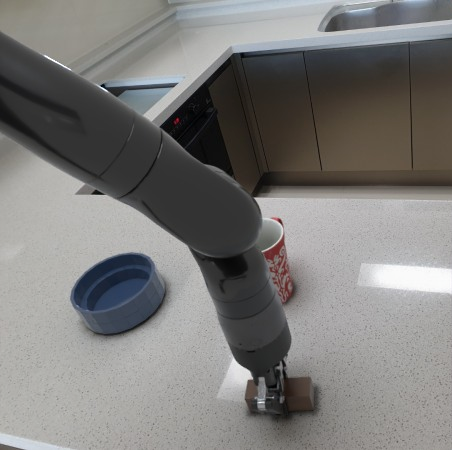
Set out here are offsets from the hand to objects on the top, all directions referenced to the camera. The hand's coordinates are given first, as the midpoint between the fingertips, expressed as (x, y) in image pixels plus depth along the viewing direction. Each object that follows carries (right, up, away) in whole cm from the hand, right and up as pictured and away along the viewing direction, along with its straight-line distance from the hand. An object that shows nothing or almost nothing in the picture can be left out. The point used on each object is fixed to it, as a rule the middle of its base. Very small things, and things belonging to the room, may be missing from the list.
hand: (282, 400), depth 65 cm
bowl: (-30, +10, +22) cm, 38 cm away
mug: (-2, +14, +19) cm, 23 cm away
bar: (0, 0, 0) cm, 0 cm away
